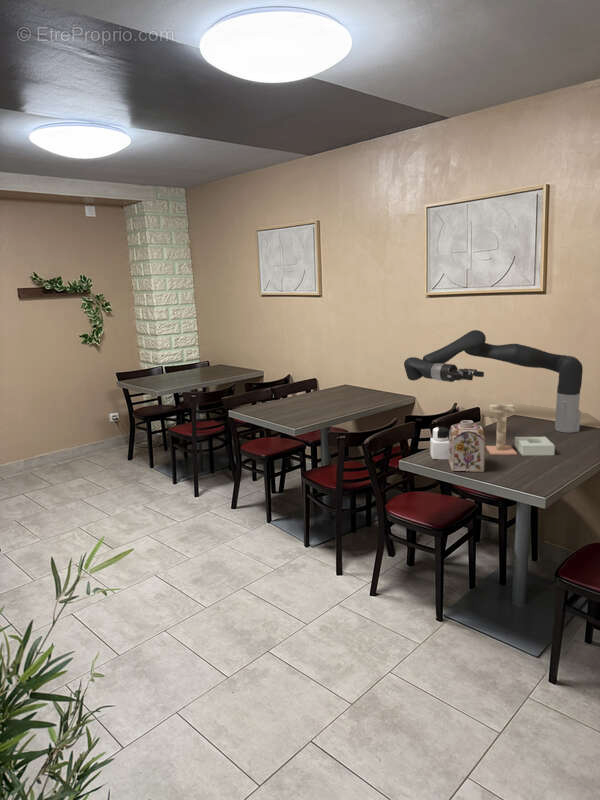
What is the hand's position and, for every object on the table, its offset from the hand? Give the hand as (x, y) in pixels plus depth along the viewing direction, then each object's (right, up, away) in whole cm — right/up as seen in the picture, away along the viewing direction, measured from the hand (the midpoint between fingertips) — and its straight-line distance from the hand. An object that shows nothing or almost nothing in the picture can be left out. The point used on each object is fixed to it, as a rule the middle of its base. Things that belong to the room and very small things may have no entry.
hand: (478, 376), depth 228 cm
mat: (+9, -31, -1) cm, 32 cm away
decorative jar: (-10, -36, -18) cm, 41 cm away
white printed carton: (-17, -33, -5) cm, 37 cm away
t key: (+9, -30, -2) cm, 31 cm away
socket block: (+22, -30, -3) cm, 38 cm away
